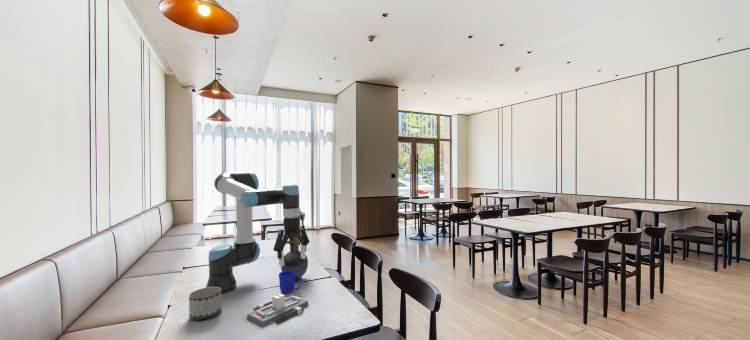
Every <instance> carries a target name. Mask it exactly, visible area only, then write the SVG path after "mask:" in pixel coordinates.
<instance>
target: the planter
mask: <svg viewBox="0 0 750 340" xmlns="http://www.w3.org/2000/svg"><path fill="white" fill-rule="evenodd" d="M188 307H189V308H188V311H189V314H188V315H189V318H190V319H191V320H194V321H195V320H197V321H199V320H205V319H210V318H212V317H215V316H217V315H219V314H220V312H221V311H222V309H223V308H222V307H223V306H222V293H221V288H219V287H206V286H205V287H201V288H198V289H196V290H193V291H191V292H190V293H189V294H188Z"/></svg>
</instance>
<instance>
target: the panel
mask: <svg viewBox="0 0 750 340" xmlns="http://www.w3.org/2000/svg"><path fill="white" fill-rule="evenodd" d="M308 305H309V300H307V299H305V298H303V297H300V296H296V295H293V294H292V295H289V296H285V306H283V307H281V308H279V309H275V308H273V306H272V304H269V305H267V306H265V307H262V308H260V309H258V310H255V311H254V310H253V311H251V312H248V313H247V314H246V315H247V316H246V319H247V320H250V321H251V322H253V323H256V324H257V325H259V326H261V327H264V326H267V325H269V324H271V323H273V322H276V319H277V318H279V317H281V316H283V315H285V314H287V313H290V312H292V311H294V308H295V307H297V306H298V307H303V308H304V307H307V306H308Z"/></svg>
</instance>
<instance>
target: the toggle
mask: <svg viewBox="0 0 750 340" xmlns="http://www.w3.org/2000/svg"><path fill="white" fill-rule="evenodd" d="M271 298H272V299H271V301H272V306H273V308H275V309H279V308H281V307H283V306H285V298H286V294H284V293H281V292H280V293H278V294H275V295H272V297H271Z"/></svg>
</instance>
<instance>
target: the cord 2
mask: <svg viewBox="0 0 750 340" xmlns="http://www.w3.org/2000/svg"><path fill="white" fill-rule="evenodd" d="M303 311H304V307H298V306H297V307H295V308H294V311H292V312H290V313H287V314H285V315H283V316H281V317H279V318H277V319H276V320H275V323H276V324H279V323H281V322H283V321H285V320H287V319H289V318H291V317H293V316H295V315H300V314H302V313H303Z"/></svg>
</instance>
